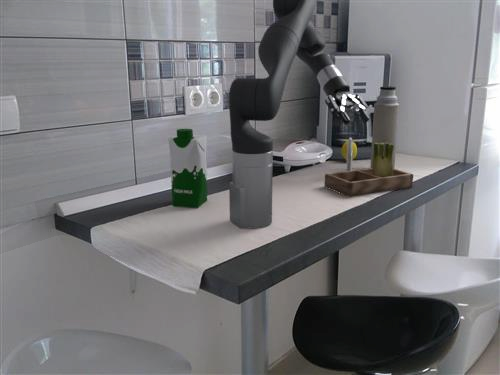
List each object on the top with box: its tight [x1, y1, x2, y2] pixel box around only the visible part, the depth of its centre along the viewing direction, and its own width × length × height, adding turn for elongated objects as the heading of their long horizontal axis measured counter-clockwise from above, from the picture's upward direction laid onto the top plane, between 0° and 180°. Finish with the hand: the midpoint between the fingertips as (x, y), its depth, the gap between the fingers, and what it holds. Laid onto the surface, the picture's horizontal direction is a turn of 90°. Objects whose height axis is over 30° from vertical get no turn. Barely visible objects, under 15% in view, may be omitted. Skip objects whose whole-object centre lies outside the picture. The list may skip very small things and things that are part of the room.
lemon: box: [341, 140, 358, 161], centre depth 182 cm, size 6×6×8 cm
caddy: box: [324, 167, 414, 198], centre depth 147 cm, size 23×12×4 cm, turn 116°
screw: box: [340, 137, 354, 172], centre depth 158 cm, size 13×5×5 cm
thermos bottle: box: [369, 85, 400, 169], centre depth 166 cm, size 8×8×28 cm
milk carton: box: [168, 128, 208, 209], centre depth 130 cm, size 9×9×20 cm
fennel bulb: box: [372, 142, 394, 177], centre depth 149 cm, size 6×5×12 cm
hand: (357, 122), depth 154 cm, fingers open, 8 cm apart
